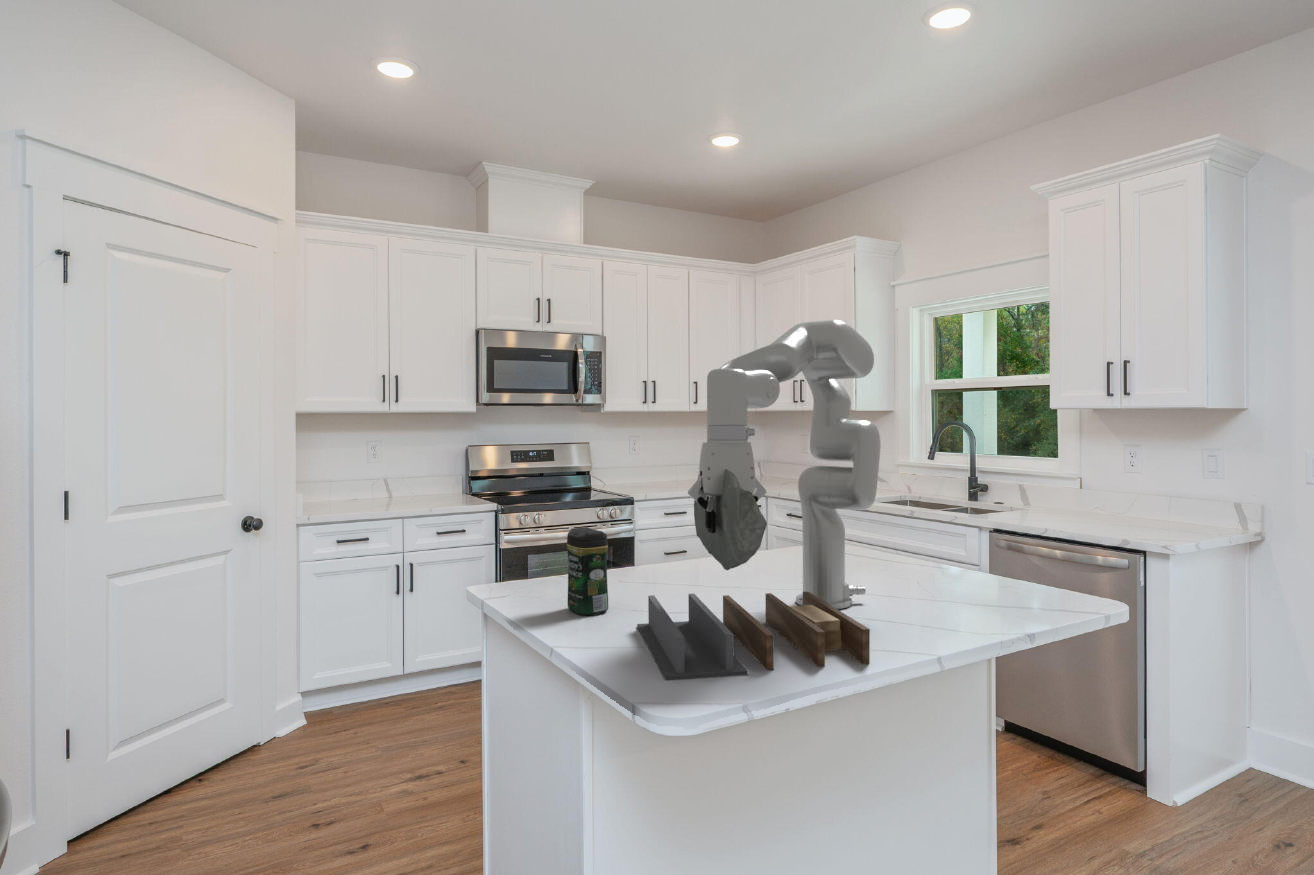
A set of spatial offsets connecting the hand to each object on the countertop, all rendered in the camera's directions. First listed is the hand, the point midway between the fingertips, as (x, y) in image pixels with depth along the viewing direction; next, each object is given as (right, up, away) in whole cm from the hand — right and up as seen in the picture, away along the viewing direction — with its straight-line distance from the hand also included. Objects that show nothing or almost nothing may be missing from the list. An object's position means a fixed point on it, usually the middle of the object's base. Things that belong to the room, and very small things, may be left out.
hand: (727, 530), depth 141 cm
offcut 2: (+17, -20, +3) cm, 26 cm away
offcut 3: (+17, -22, +4) cm, 28 cm away
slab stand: (-8, -22, -1) cm, 23 cm away
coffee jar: (-29, -21, +27) cm, 45 cm away
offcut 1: (+17, -18, +3) cm, 25 cm away
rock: (0, -8, 0) cm, 8 cm away
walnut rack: (+12, -22, +3) cm, 25 cm away
